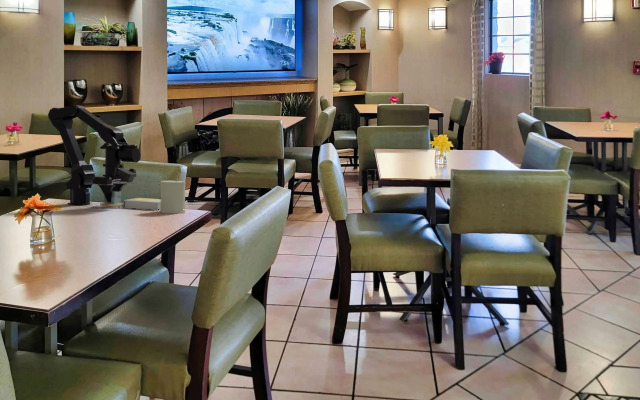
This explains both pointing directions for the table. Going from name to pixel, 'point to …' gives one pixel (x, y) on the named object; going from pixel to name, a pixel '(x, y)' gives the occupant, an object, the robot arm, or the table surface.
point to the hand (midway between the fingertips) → (112, 201)
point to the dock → (143, 203)
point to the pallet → (113, 201)
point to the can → (172, 197)
